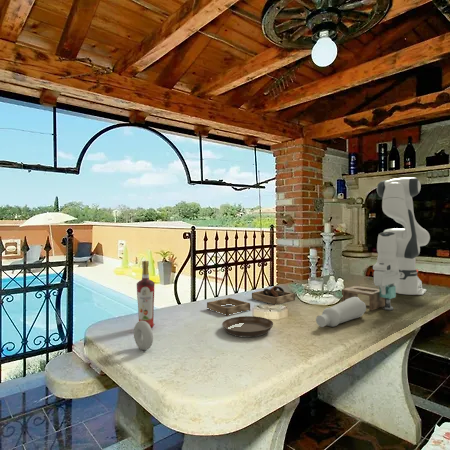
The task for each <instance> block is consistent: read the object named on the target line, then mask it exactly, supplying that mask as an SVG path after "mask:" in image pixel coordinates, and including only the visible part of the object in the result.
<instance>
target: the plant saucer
mask: <svg viewBox="0 0 450 450" xmlns="http://www.w3.org/2000/svg"><path fill="white" fill-rule="evenodd" d="M239 323H244V324H243V325H242V326H241V327H234V328H231V329H228V327H230V326H232V325H235V324H239ZM221 325H222V327H223V329H224V330H225V331H226V332H227V333H228V334H230V335H232V336H235V335H236V337H239V336H242V337H241V338H256V337H260V336H264V335H266V334H267V333H268V332H270V330H271V329H272V327H273V326H274V322H273V321H272V320H271V319H269V318H266V317H261V316H254V315H253V316H249V315H245V316H234V317H230V318H228V319H225V320H223V322H222V324H221Z"/></svg>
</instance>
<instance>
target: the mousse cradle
mask: <svg viewBox="0 0 450 450" xmlns="http://www.w3.org/2000/svg"><path fill="white" fill-rule="evenodd" d="M226 304H232V305H235V306H228V307H227V306H221V305H226ZM207 308H209V309H211V310H214V311H217V312H220V313H223V314H226V315H229V314H233V313H237V312H241V311H245V312H247V311H246V310H249V311H251V302H247V301H243V300H239V299H236V298H231V297H227V298H222V299H217V300H212V301H207V302H206V309H207ZM211 310H210V311H211ZM214 311H213V312H214ZM217 312H216V313H217ZM220 313H219V314H220ZM241 313H242V312H241ZM223 314H222V315H223ZM237 314H238V313H237ZM226 315H225V316H226ZM233 315H234V314H233ZM229 316H230V315H229Z"/></svg>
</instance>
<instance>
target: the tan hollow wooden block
mask: <svg viewBox="0 0 450 450" xmlns="http://www.w3.org/2000/svg"><path fill="white" fill-rule="evenodd" d="M342 295H343V297H342ZM358 295H363V296H368V297H369V300H368V302H369V304H368V305H369V311H374V310H377V309H380V308H383V306H385V298H383V297H380V291H379V288H373V287H366V286H360V285H353V286H348V287H345V288H341V302H343V301H345V300H346V299H349V298H351V297H358V298H359V296H358Z"/></svg>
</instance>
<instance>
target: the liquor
mask: <svg viewBox="0 0 450 450" xmlns="http://www.w3.org/2000/svg"><path fill="white" fill-rule="evenodd" d="M149 266H150V265H149V260H143V261H141V267H142V273H141V280H139V281H138V282H137V283H136V295H137V296H136V297H137V298H136V299H137V310H138V311H137V313H138V322H139V321H146V322H147V323H148V324H149V325H150V327H151V329H152V328H153V327H154V326H155V323H154V313H155V312H154V311H155V310H154V307H155V306H154V305H155V303H154V302H155V281H154V280H152V279H150V274H149Z"/></svg>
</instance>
